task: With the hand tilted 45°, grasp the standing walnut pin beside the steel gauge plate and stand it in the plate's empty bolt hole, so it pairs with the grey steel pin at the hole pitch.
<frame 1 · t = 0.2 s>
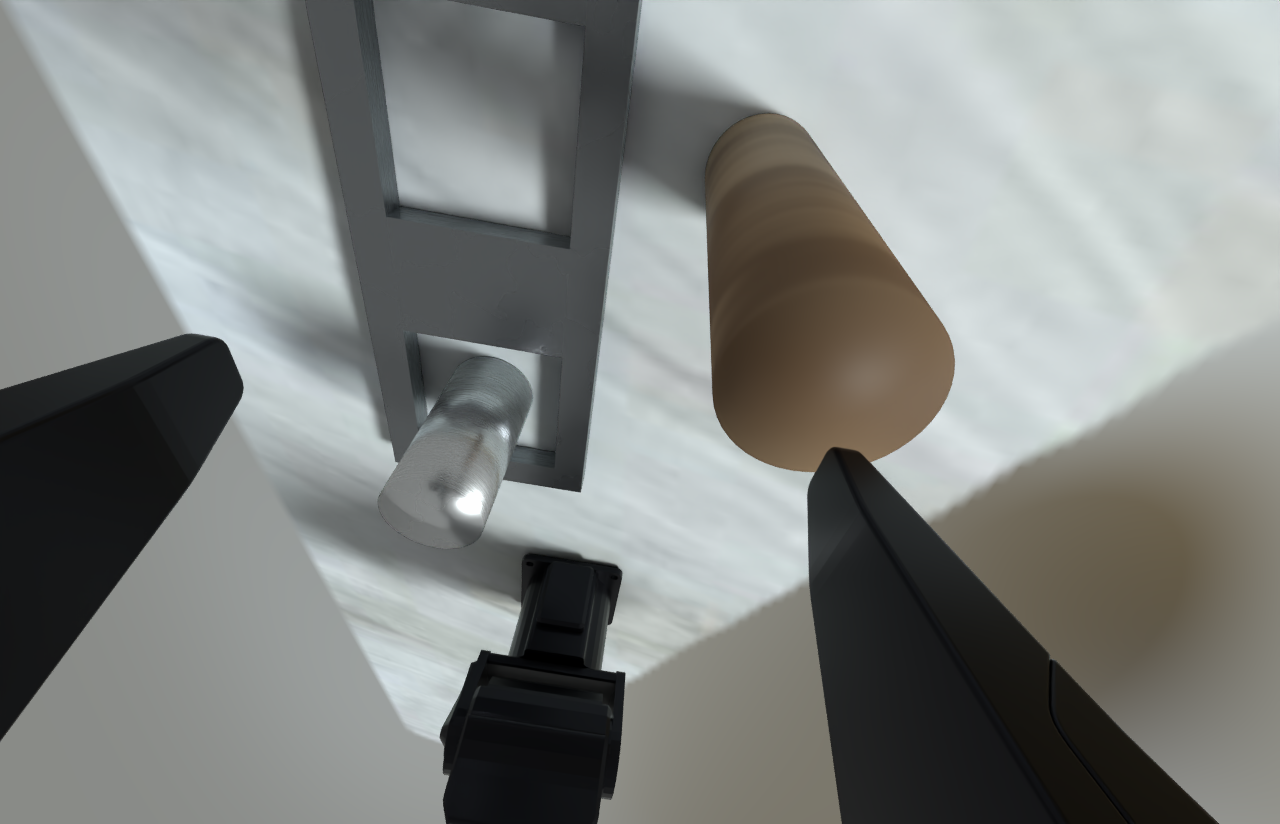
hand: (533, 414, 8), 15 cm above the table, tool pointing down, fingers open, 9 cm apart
walnut pin: (760, 175, 19), on the table
steel pin: (493, 390, 27), resting in gauge plate
gauge plate: (489, 279, 23), on the table
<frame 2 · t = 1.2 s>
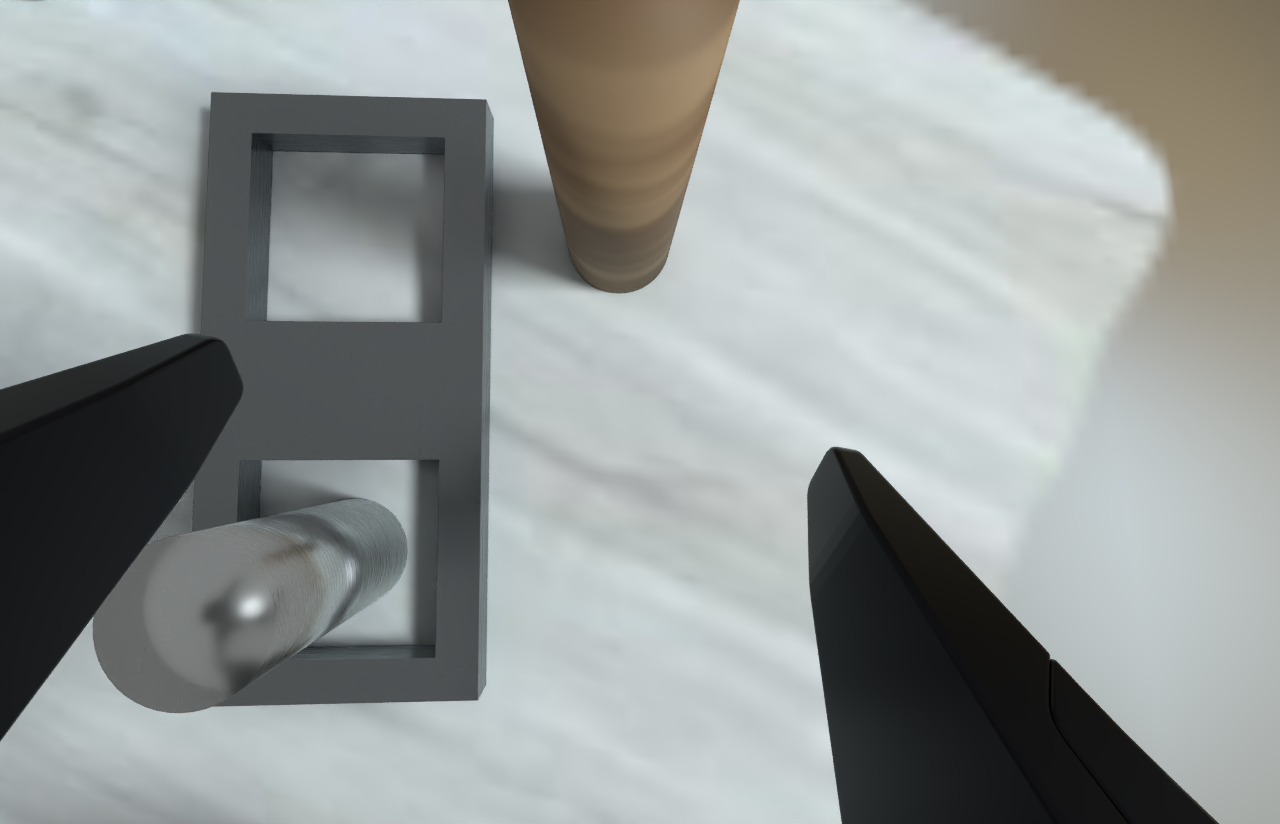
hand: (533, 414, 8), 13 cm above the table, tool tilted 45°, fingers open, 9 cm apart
walnut pin: (618, 243, 21), on the table
steel pin: (353, 551, 20), resting in gauge plate
gauge plate: (357, 393, 21), on the table
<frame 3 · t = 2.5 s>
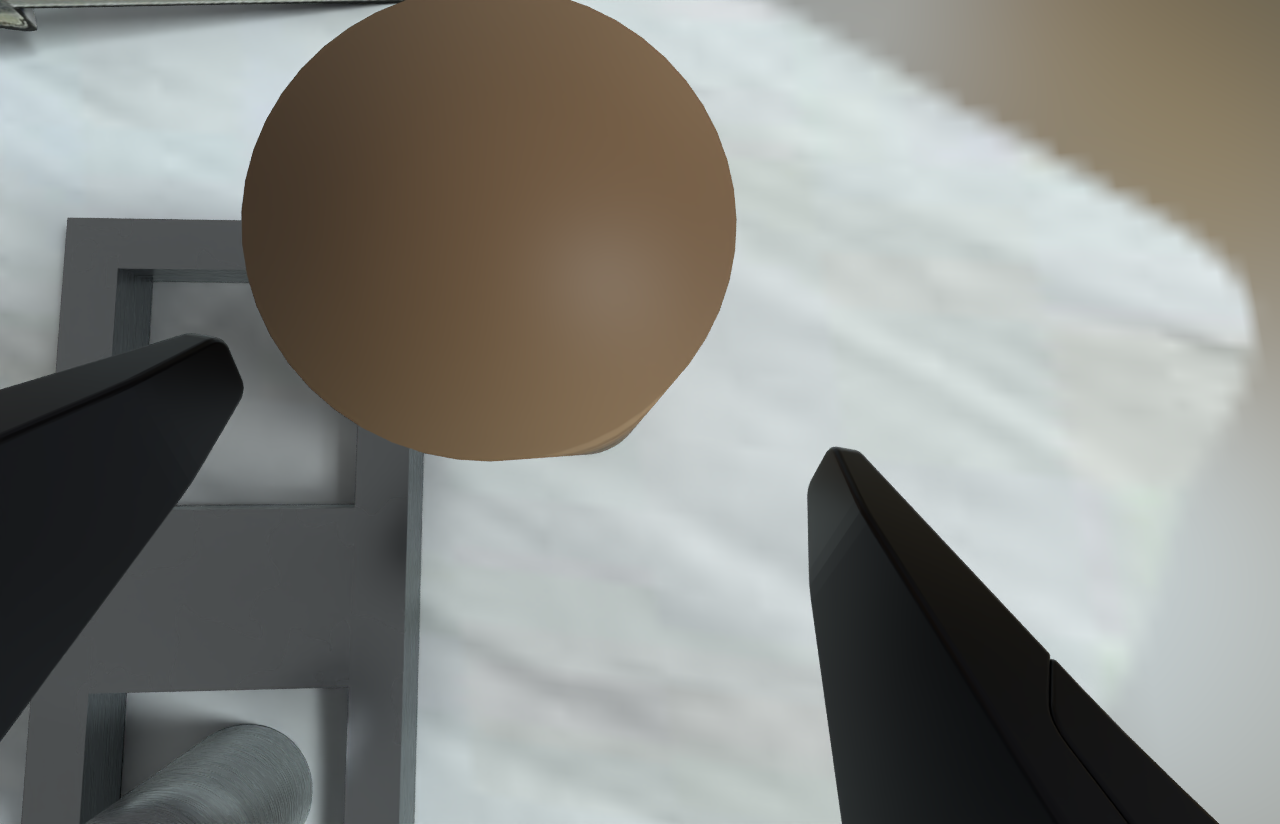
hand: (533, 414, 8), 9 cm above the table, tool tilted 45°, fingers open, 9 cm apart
walnut pin: (583, 392, 17), on the table
steel pin: (243, 794, 16), resting in gauge plate
gauge plate: (253, 588, 16), on the table
caliper: (198, 37, 18), on the table
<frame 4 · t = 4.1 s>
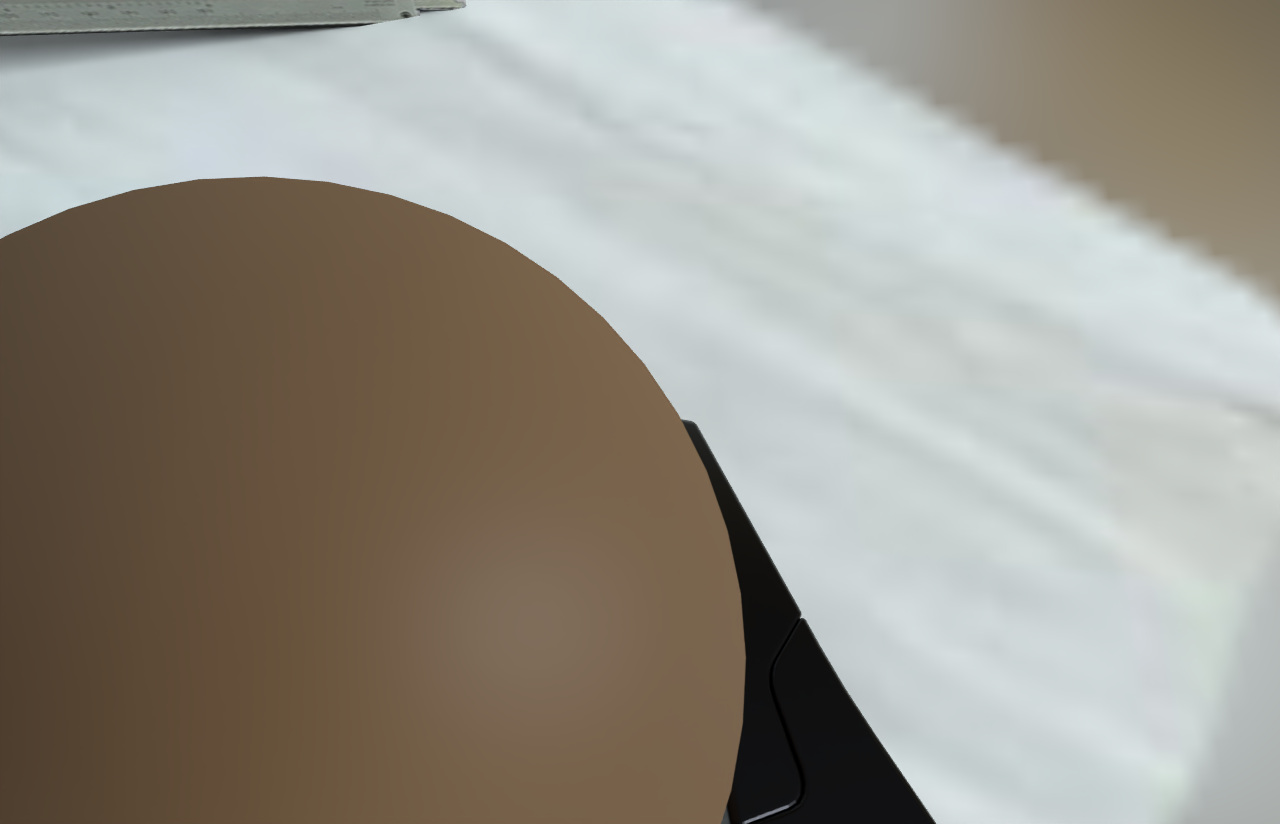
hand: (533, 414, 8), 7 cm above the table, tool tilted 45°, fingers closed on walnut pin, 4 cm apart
walnut pin: (561, 479, 15), on the table, touching gripper
caliper: (121, 66, 16), on the table
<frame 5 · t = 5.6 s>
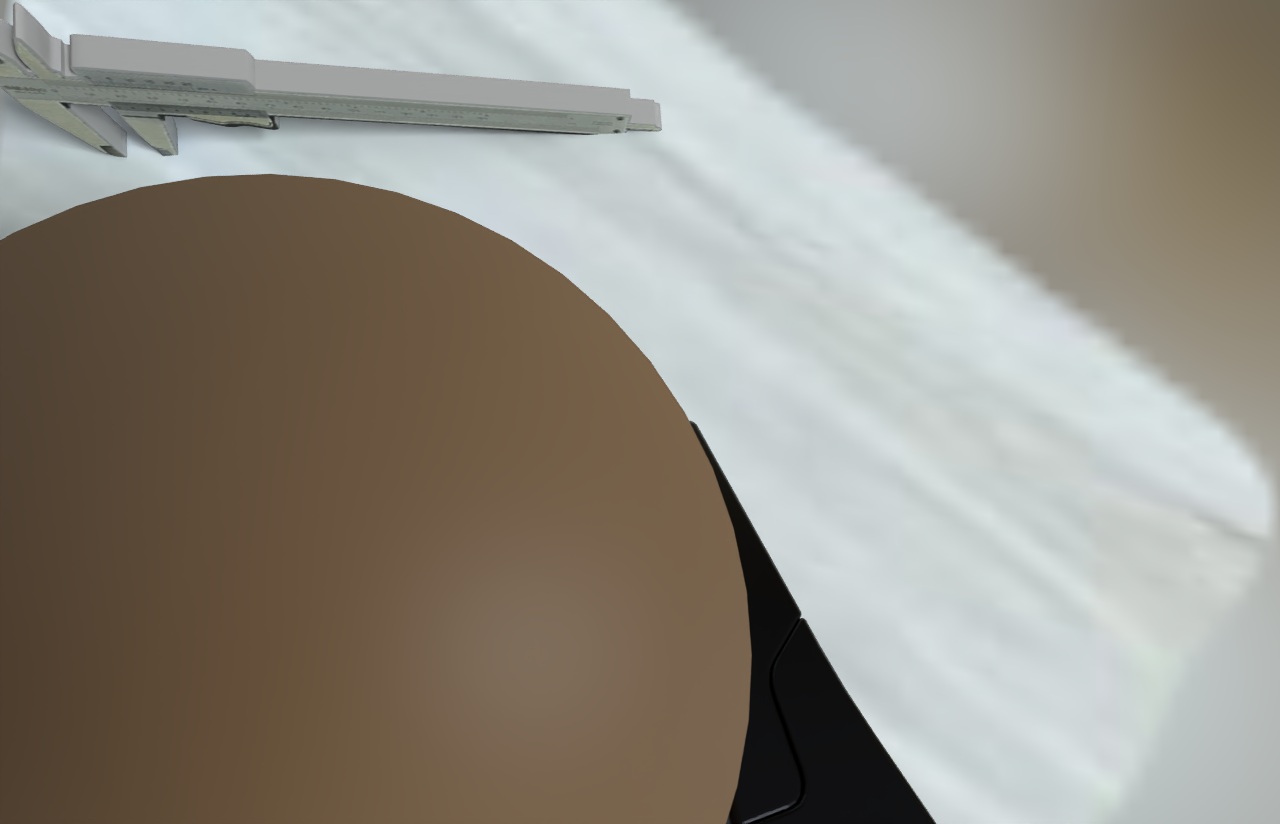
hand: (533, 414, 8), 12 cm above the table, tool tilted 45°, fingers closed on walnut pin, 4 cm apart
walnut pin: (562, 478, 15), point 5 cm above the table, touching gripper
caliper: (398, 138, 21), on the table
when the fingers open (8 cm above the table, at t = 7.4 s): walnut pin drops 1 cm, resting in gauge plate.
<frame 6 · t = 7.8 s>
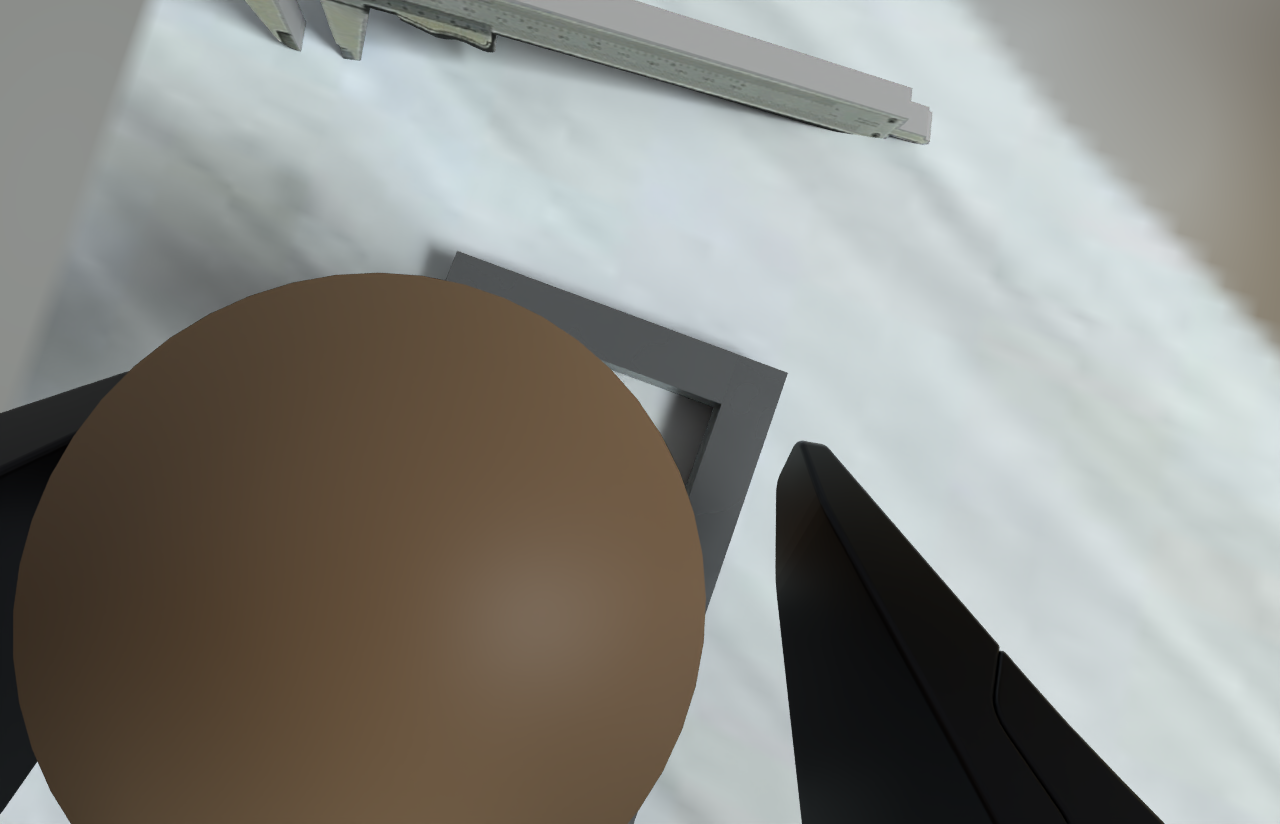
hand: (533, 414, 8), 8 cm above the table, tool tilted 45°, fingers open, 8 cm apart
walnut pin: (565, 478, 16), resting in gauge plate
gauge plate: (493, 671, 16), on the table
caliper: (615, 93, 17), on the table
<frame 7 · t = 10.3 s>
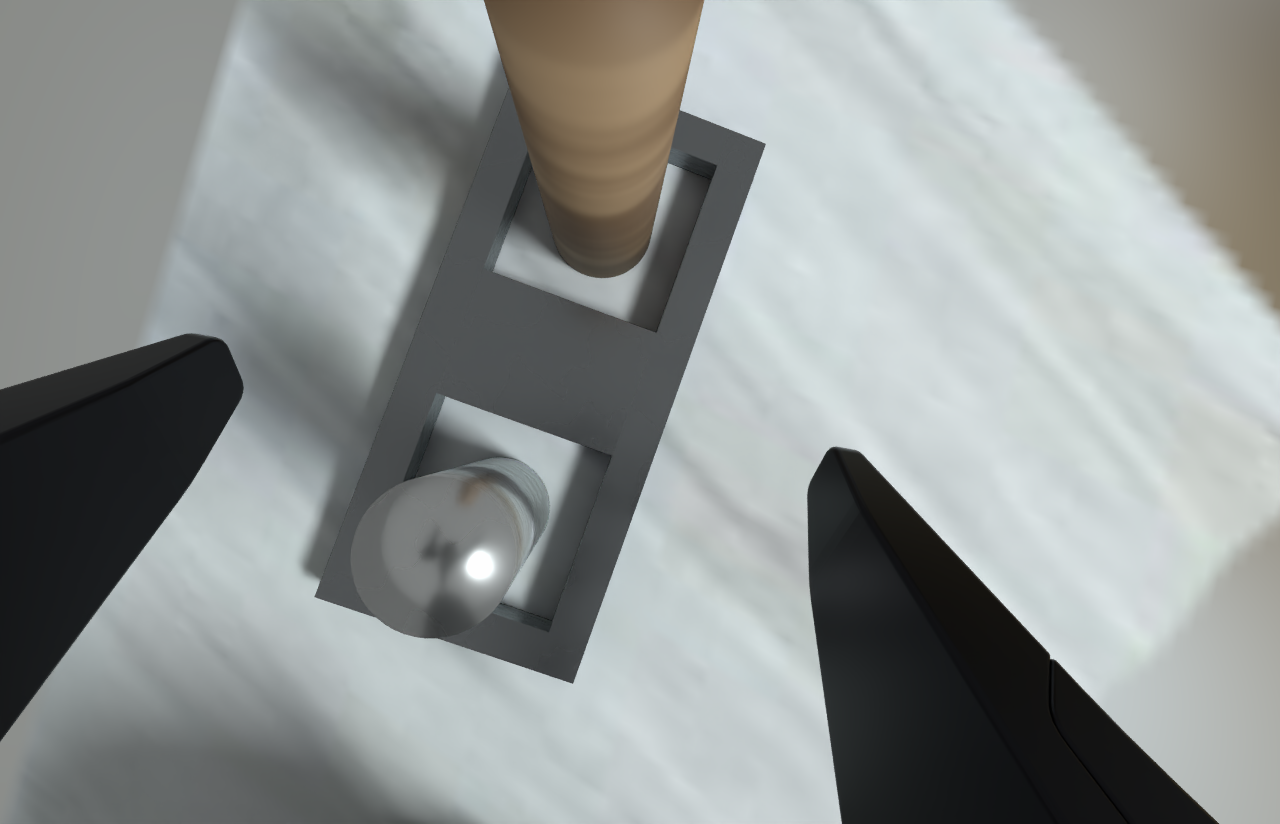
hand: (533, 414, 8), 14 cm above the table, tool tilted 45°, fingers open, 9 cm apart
walnut pin: (602, 229, 22), resting in gauge plate
steel pin: (499, 507, 21), resting in gauge plate
gauge plate: (551, 366, 22), on the table
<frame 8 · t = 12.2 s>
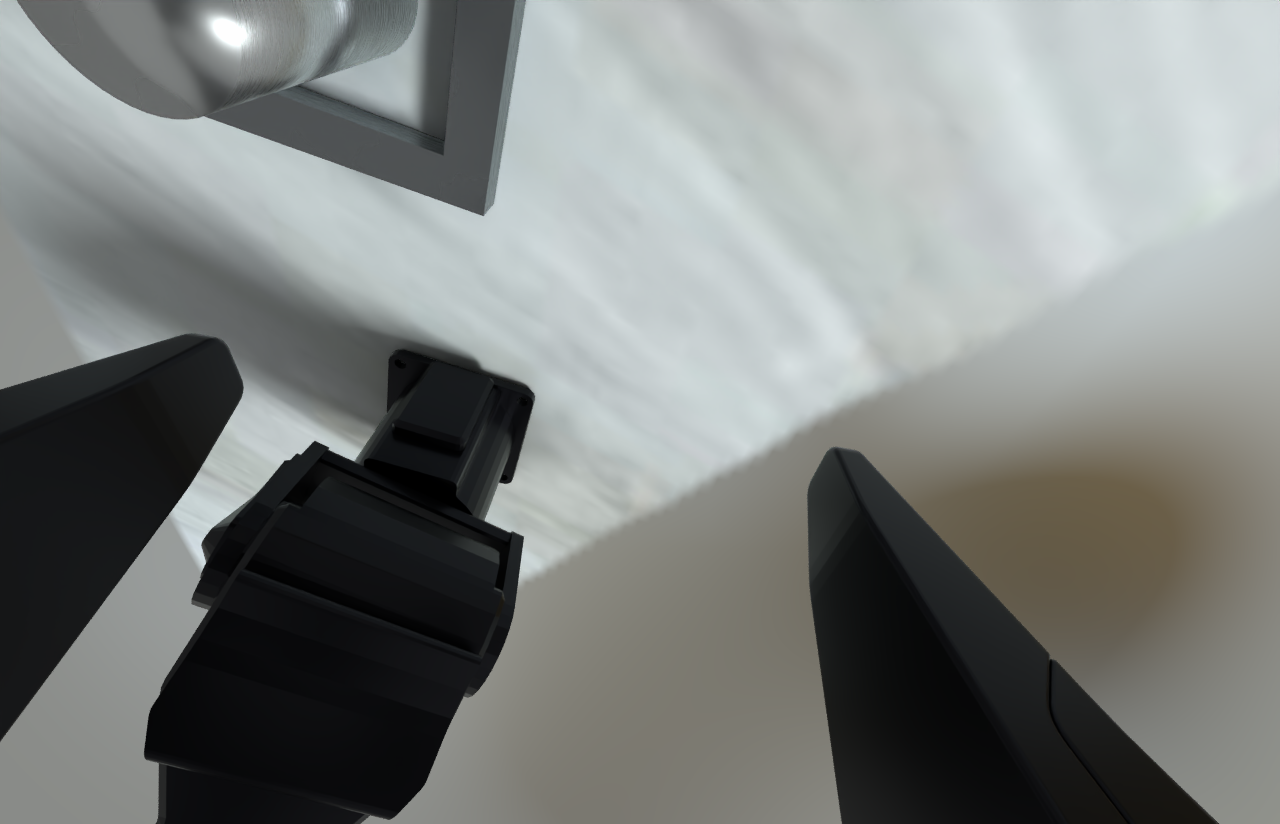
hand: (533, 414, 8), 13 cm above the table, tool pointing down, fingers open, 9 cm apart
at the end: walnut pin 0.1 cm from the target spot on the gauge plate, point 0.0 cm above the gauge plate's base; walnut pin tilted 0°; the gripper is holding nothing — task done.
